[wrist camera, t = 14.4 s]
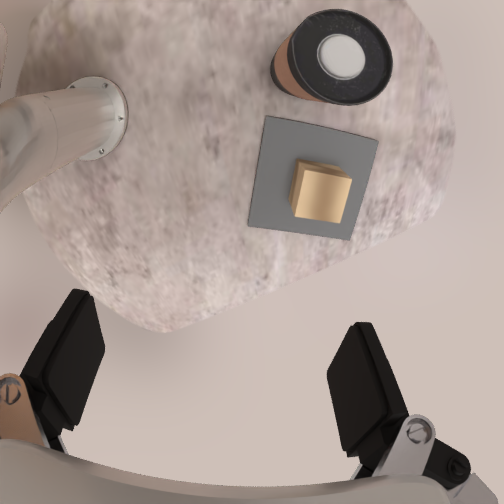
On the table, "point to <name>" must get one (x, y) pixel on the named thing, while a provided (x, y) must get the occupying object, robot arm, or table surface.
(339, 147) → the charcoal mat
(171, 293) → the table surface
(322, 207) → the oak block
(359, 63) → the travel mug
